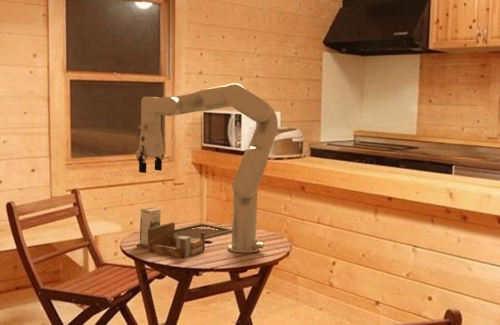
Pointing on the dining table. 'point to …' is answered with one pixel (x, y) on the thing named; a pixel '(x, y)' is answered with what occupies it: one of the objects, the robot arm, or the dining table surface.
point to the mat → (142, 245)
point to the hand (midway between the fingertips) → (150, 171)
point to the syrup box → (148, 222)
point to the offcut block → (187, 244)
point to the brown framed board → (197, 232)
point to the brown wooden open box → (167, 240)
